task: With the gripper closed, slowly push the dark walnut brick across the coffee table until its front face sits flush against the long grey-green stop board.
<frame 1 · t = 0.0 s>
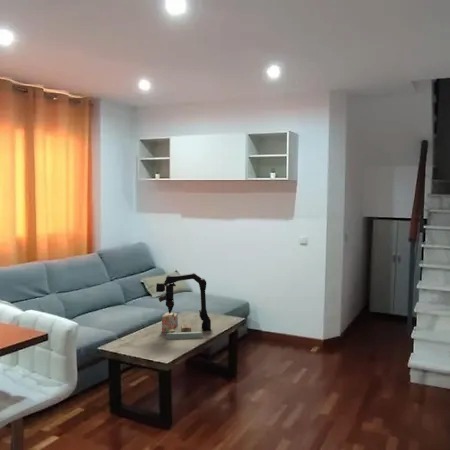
hand: (169, 311, 374), 15 cm above the table, fingers open, 9 cm apart
oak cube: (171, 335, 363), on the table
stop board: (184, 337, 358), on the table
walnut brick: (186, 332, 372), on the table
stack of blocks: (170, 328, 382), on the table
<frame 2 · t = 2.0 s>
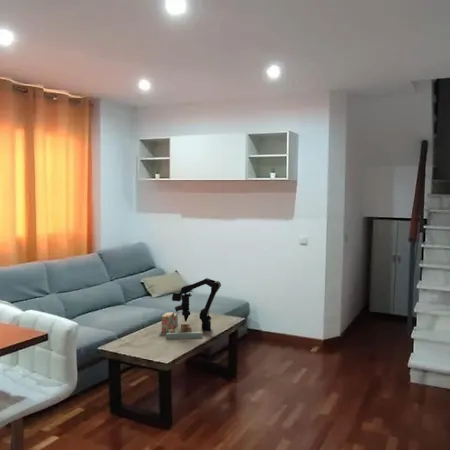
hand: (185, 321, 382), 5 cm above the table, fingers closed
nothing on the table moved.
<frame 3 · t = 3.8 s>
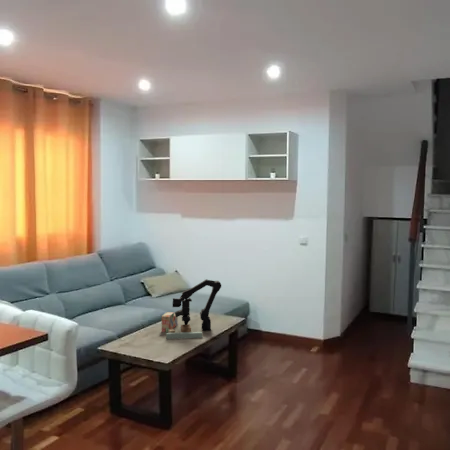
hand: (185, 326, 377), 3 cm above the table, fingers closed
walnut brick: (185, 332, 371), on the table, touching gripper
everything else where it was.
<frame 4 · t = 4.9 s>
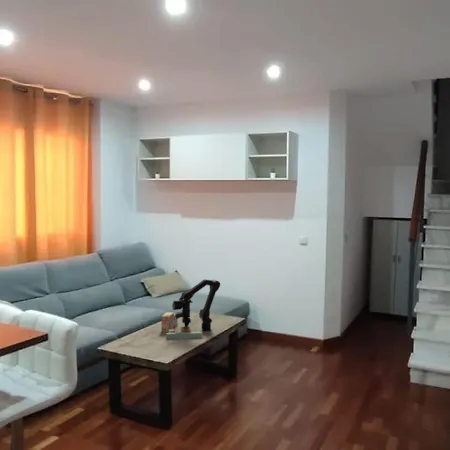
hand: (186, 328, 371), 3 cm above the table, fingers closed
walnut brick: (185, 335, 365), on the table, touching gripper
everything else where it was.
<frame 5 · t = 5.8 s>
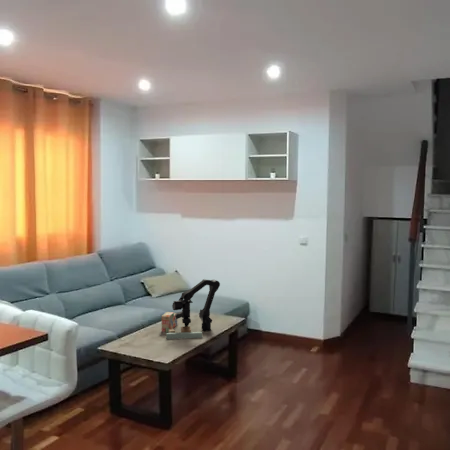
hand: (186, 328, 371), 3 cm above the table, fingers closed
walnut brick: (185, 334, 365), on the table, touching gripper, stop board
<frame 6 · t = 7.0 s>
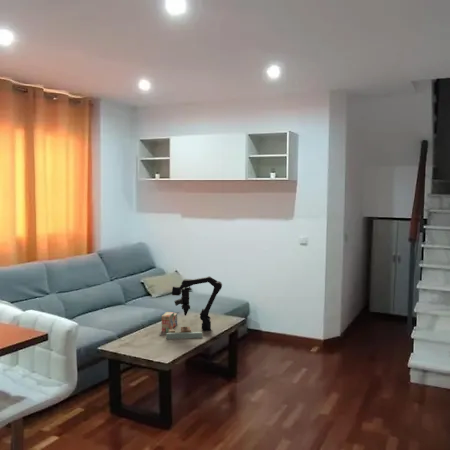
hand: (185, 315, 378), 11 cm above the table, fingers closed
walnut brick: (185, 335, 365), on the table
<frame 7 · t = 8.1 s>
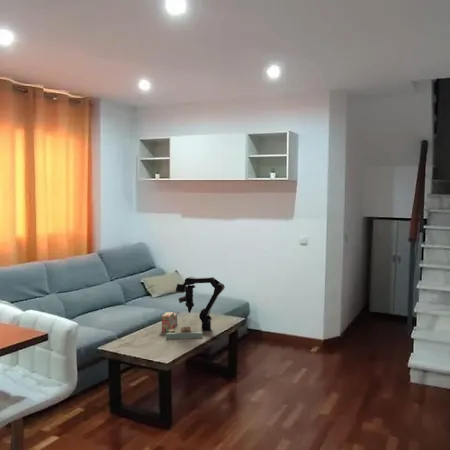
hand: (189, 312, 382), 12 cm above the table, fingers closed
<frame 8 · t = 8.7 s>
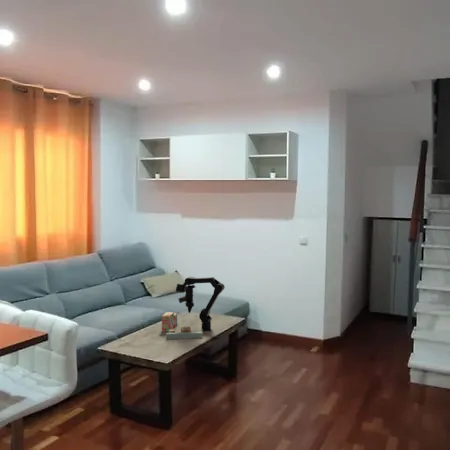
hand: (189, 312, 382), 12 cm above the table, fingers closed
at the end: walnut brick inside the target area on the table beside the stop board (1.6 cm from its centre), on the table; walnut brick tilted 0°; walnut brick touching table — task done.
